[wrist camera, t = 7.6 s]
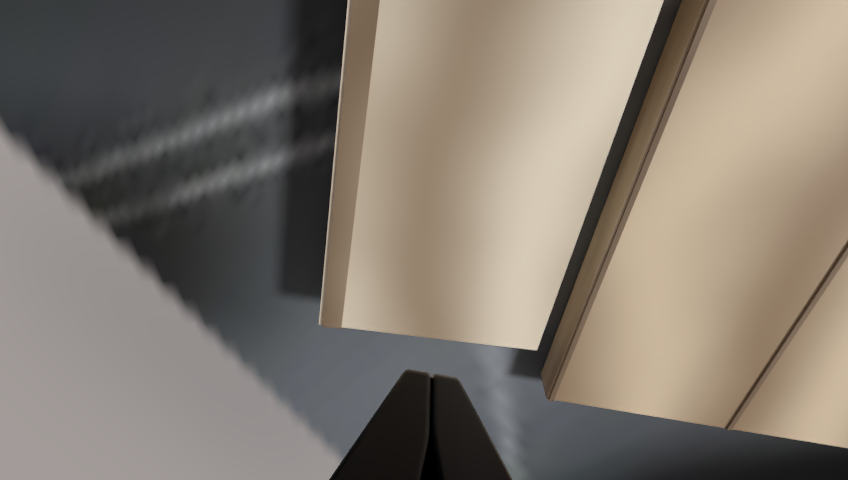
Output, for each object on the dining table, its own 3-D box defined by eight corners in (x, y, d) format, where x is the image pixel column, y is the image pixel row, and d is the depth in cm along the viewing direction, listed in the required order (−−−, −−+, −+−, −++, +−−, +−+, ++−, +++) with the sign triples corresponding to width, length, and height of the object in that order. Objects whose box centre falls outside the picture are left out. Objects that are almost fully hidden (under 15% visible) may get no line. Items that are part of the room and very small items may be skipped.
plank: (752, -326, 9) (798, -367, 8) (528, 327, 17) (537, 351, 16) (393, -427, 9) (390, -486, 8) (324, 301, 16) (318, 325, 15)
